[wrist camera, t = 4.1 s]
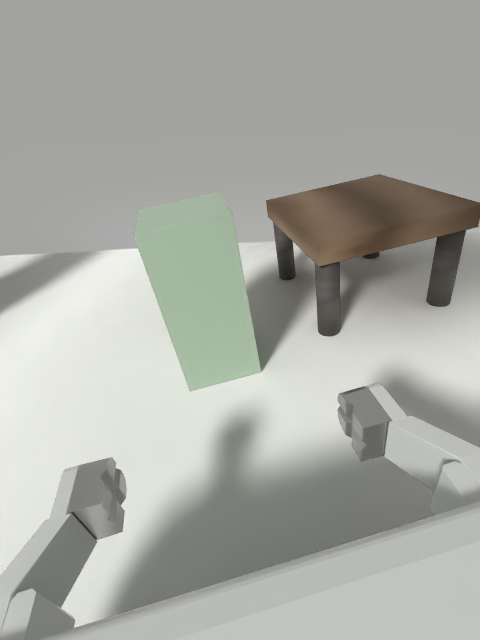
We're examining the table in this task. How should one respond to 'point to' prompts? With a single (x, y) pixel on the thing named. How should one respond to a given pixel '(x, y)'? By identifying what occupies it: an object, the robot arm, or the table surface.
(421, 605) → the robot arm
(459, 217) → the peg shelf
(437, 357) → the table surface
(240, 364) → the green block
